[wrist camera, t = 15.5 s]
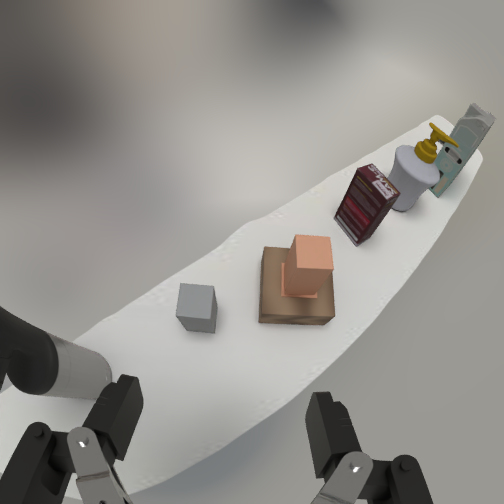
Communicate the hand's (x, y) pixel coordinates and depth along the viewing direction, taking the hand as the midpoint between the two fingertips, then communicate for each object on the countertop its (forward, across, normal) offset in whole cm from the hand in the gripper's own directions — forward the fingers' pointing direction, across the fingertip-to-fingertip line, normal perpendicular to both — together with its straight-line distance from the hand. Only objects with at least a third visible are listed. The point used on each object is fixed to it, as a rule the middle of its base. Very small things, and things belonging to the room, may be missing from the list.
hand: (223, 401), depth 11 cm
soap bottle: (+57, -39, -8) cm, 69 cm away
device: (+66, -60, -16) cm, 91 cm away
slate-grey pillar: (+34, +6, +16) cm, 37 cm away
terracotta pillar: (+33, -10, +7) cm, 35 cm away
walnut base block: (+38, -10, +11) cm, 41 cm away
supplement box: (+49, -24, 0) cm, 55 cm away
